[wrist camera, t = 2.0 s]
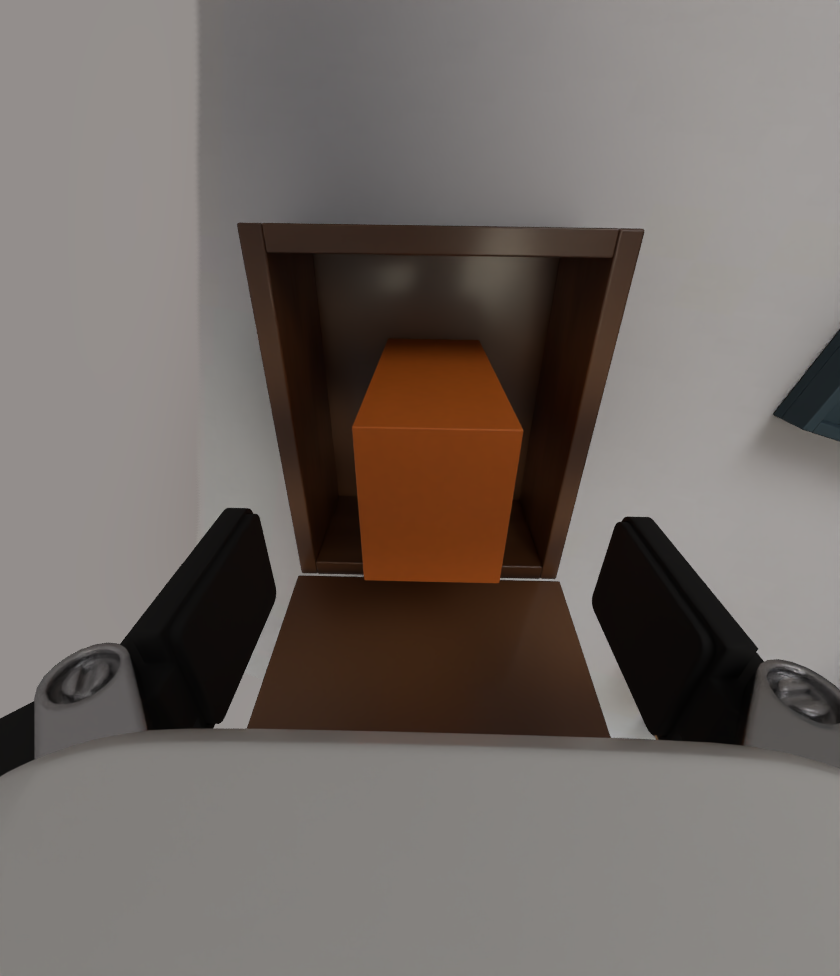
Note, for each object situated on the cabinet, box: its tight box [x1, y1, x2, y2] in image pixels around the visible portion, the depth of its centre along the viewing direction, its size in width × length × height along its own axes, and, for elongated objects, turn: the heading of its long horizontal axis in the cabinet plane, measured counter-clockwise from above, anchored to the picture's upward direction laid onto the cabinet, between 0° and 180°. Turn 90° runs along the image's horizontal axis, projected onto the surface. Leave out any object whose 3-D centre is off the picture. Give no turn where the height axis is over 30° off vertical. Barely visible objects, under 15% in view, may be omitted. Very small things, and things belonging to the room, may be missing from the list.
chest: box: [237, 223, 644, 579], centre depth 19 cm, size 15×13×7 cm
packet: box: [352, 339, 523, 583], centre depth 17 cm, size 6×4×11 cm
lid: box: [247, 576, 611, 738], centre depth 15 cm, size 15×13×5 cm
